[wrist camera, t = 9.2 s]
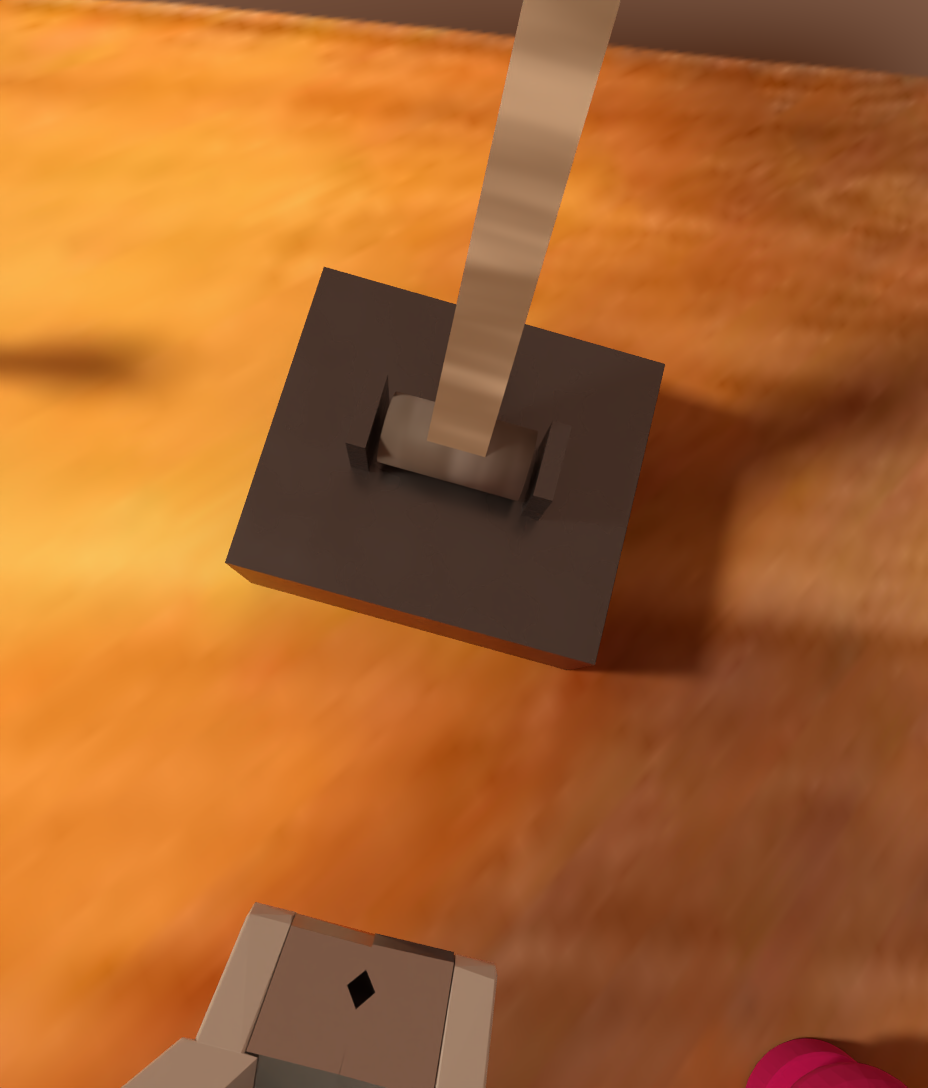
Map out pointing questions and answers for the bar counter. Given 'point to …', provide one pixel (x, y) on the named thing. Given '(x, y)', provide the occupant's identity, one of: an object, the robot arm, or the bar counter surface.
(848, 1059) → the pepper mill
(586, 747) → the bar counter surface
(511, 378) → the base
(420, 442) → the lever
